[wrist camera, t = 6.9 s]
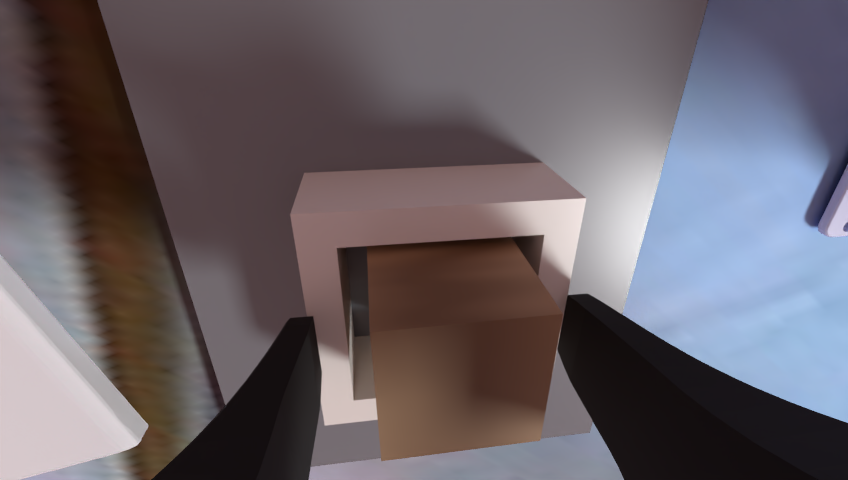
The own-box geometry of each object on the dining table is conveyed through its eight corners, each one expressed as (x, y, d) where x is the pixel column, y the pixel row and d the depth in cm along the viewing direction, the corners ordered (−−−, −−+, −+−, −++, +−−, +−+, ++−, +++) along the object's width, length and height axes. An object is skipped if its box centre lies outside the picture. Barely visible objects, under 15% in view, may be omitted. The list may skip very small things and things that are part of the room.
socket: (707, -69, 12) (840, -99, 9) (582, 418, 21) (622, 493, 18) (88, -84, 10) (-45, -130, 7) (251, 457, 20) (229, 549, 16)
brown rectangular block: (487, 201, 14) (562, 314, 9) (481, 299, 16) (540, 440, 11) (365, 209, 14) (369, 332, 8) (373, 309, 16) (381, 460, 10)
